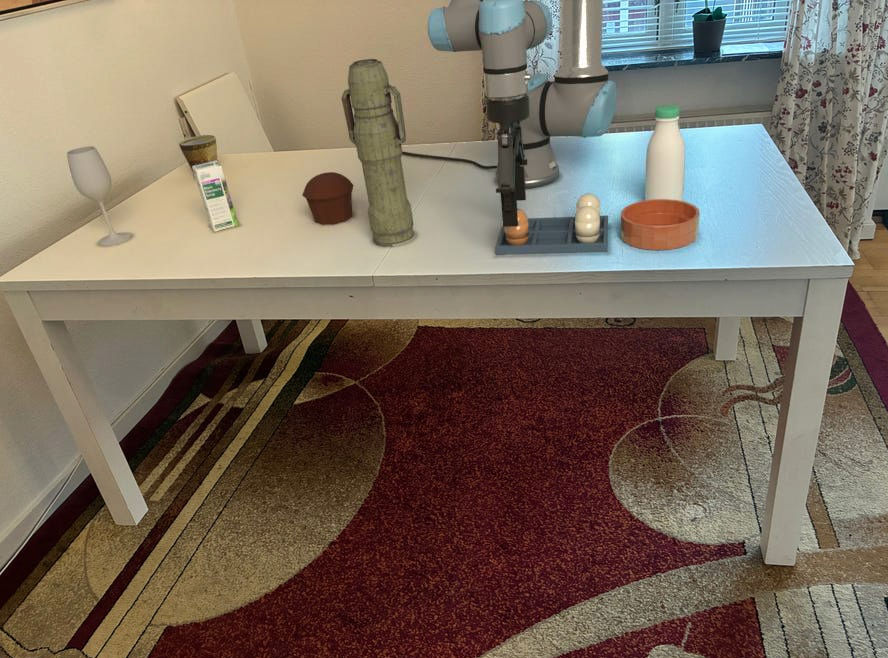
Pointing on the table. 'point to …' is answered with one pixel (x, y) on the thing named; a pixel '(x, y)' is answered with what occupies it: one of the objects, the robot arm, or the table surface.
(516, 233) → the brown egg
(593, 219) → the cream egg
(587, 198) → the cream egg
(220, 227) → the syrup box
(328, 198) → the muffin
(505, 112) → the robot arm
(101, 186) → the wineglass
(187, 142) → the ceramic cup
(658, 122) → the milk bottle
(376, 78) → the thermos
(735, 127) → the table surface
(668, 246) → the bowl
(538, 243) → the egg tray
